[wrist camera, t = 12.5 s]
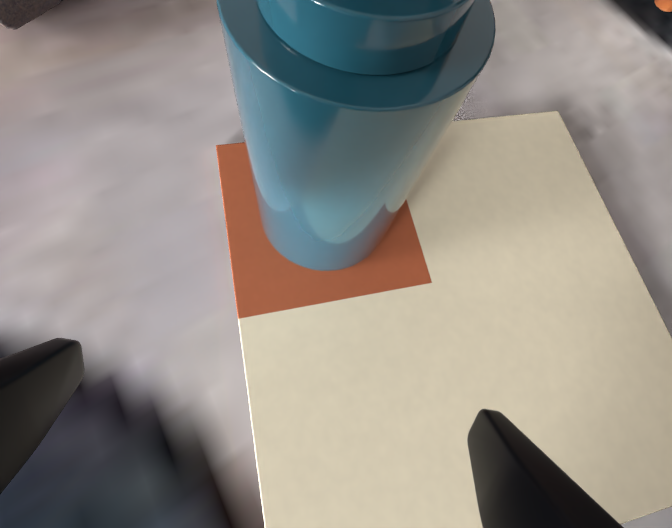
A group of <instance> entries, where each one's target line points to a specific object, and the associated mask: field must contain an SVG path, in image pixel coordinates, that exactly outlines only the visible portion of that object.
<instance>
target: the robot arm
mask: <svg viewBox="0 0 672 528" xmlns="http://www.w3.org/2000/svg"><path fill="white" fill-rule="evenodd" d="M83 376H84V362H83V355H82V348H81V344H80V343H79V342H78V341H76V340H71V339H65V338H56V339H53V340H50V341H47V342H45V343H42V344H39V345H36V346H34V347H31V348H28V349H26V350H23V351H20V352H18V353H15V354H12V355H9V356H7V357H4V358H1V359H0V494H1V493H2V491H3V490H4V489H5V488H6V486H7V485H8V484H9V483H10V481H11V480H12V479H13V478H14V476H15V475H16V474H17V473H18V471H19V470H20V469H21V468H22V466H23V465H24V464H25V463H26V461H27V460H28V459H29V457H30V456H31V455H32V454H33V452H34V451H35V450H36V448H37V447H38V445H39V444H40V443H41V441H42V440H43V438H44V437H45V435H46V434H47V432H48V431H49V429H50V428H51V426H52V425H53V423H54V422H55V420H56V419H57V417H58V416H59V414H60V413H61V411H62V410H63V408H64V407H65V405H66V404H67V402H68V400H69V399H70V397H71V396H72V394H73V393H74V391H75V390H76V388H77V387H78V385H79V384H80V382H81V380H82V378H83ZM467 443H468V450H469V456H470V462H471V468H472V473H473V479H474V485H475V491H476V497H477V503H478V508H479V513H480V518H481V522H482V526H483V528H623V527H622V526H621V525H620V524H619V523H618V522H617V521H616V520H615V519H614V518H613V517H612V516H611V515H610V514H609V513H608V512H606V511H605V510H604V509H603V508H602V507H601V506H600V505H599V504H598V503H597V502H596V501H595V500H594V499H593V498H592V497H591V496H589V495H588V494H587V493H586V492H585V491H584V490H583V489H582V488H581V487H580V486H579V485H578V484H577V483H576V482H575V481H574V480H572V479H571V478H570V477H569V476H568V475H567V474H566V473H565V472H564V471H563V470H562V469H561V468H560V467H559V466H558V465H557V464H555V463H554V462H553V461H552V460H551V459H550V458H549V457H548V456H547V455H546V454H545V453H544V452H543V451H542V450H541V449H540V448H538V447H537V446H536V445H535V444H534V443H533V442H532V441H531V440H530V439H529V438H528V437H527V436H526V435H525V434H524V433H523V432H521V431H520V430H519V429H518V428H517V427H516V426H515V425H514V424H513V423H512V422H511V421H510V420H509V419H508V418H507V417H506V416H504V415H503V414H502V413H501V412H499V411H496V410H490V409H481V410H480V411H479V412H478V414H477V416H476V418H475V420H474V422H473V424H472V426H471V428H470V430H469V433H468V438H467Z"/></svg>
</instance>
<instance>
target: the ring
mask: <svg viewBox="0 0 672 528" xmlns="http://www.w3.org/2000/svg"><path fill="white" fill-rule="evenodd" d="M654 2H655V5H656V6H657V7H658V8H659V9H660V10H662V11H664V12H671V11H672V0H655V1H654Z"/></svg>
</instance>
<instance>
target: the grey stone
mask: <svg viewBox="0 0 672 528" xmlns="http://www.w3.org/2000/svg"><path fill="white" fill-rule="evenodd" d="M61 1H62V0H0V25H2V26H4V27H6V28H7V29H12V30H14V29H18V28H19V27H21V26H23V25H25V24H26V23H28V22H30V21H31V20H33V19H35V18H36V17H38V16H40V15H42V14H43V13H45V12H46V11H47V10H49V9H51V8H53V7H54V6H56V5H57V4H59V3H60V2H61Z"/></svg>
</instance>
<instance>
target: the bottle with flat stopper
mask: <svg viewBox="0 0 672 528" xmlns="http://www.w3.org/2000/svg"><path fill="white" fill-rule="evenodd" d="M217 7H218V12H219V17H220V22H221V27H222V32H223V37H224V42H225V47H226V52H227V57H228V61H229V66H230V71H231V76H232V81H233V86H234V91H235V96H236V101H237V106H238V111H239V115H240V120H241V125H242V130H243V135H244V140H245V145H246V150H247V155H248V160H249V165H250V170H251V174H252V179H253V184H254V189H255V194H256V199H257V204H258V209H259V214H260V219H261V223H262V227H263V230H264V232H265V234H266V236H267V238H268V240H269V241H270V243H271V244H272V245H273V247H274V248H275V249H276V250H277V251H278V252H279V253H280V254H281V255H283V256H284V257H285V258H287V259H288V260H290V261H292V262H293V263H295V264H297V265H300V266H302V267H305V268H309V269H313V270H320V271H332V270H340V269H344V268H348V267H350V266H353V265H355V264H357V263H359V262H361V261H362V260H364V259H365V258H367V257H368V256H369V255H370V254H371V253H372V252H373V251H374V250H375V249H376V248H377V246H378V245H379V243H380V242H381V240H382V238H383V237H384V235H385V233H386V232H387V230H388V228H389V227H390V225H391V223H392V221H393V220H394V218H395V216H396V215H397V213H398V211H399V210H400V208H401V206H402V205H403V203H404V201H405V200H406V198H407V196H408V195H409V193H410V191H411V190H412V188H413V186H414V184H415V183H416V181H417V179H418V178H419V176H420V174H421V173H422V171H423V169H424V168H425V166H426V164H427V163H428V161H429V159H430V158H431V156H432V154H433V152H434V151H435V149H436V147H437V146H438V144H439V142H440V141H441V139H442V137H443V136H444V134H445V132H446V131H447V129H448V127H449V126H450V124H451V122H452V121H453V119H454V117H455V115H456V114H457V112H458V110H459V109H460V107H461V105H462V104H463V102H464V100H465V99H466V97H467V95H468V94H469V92H470V90H471V89H472V87H473V85H474V84H475V82H476V80H477V78H478V77H479V75H480V73H481V72H482V70H483V68H484V67H485V65H486V63H487V61H488V59H489V58H490V55H491V52H492V49H493V46H494V38H495V17H494V13H493V8H492V5H491V2H490V0H217Z"/></svg>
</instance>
